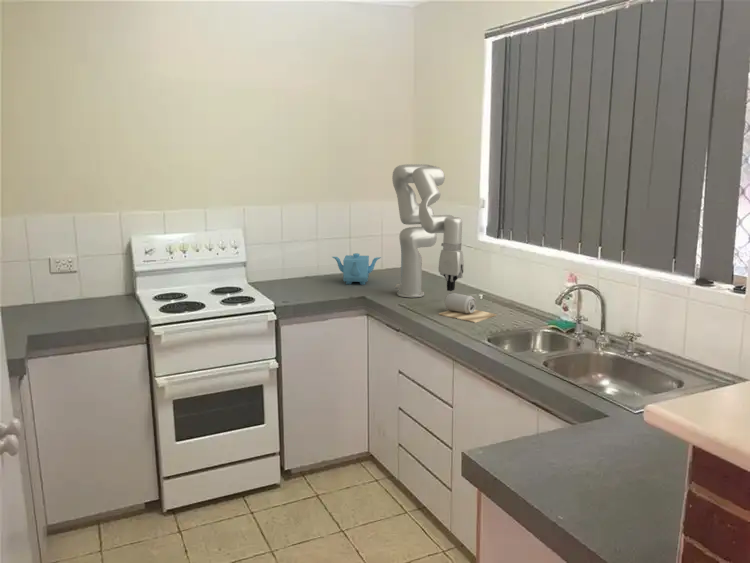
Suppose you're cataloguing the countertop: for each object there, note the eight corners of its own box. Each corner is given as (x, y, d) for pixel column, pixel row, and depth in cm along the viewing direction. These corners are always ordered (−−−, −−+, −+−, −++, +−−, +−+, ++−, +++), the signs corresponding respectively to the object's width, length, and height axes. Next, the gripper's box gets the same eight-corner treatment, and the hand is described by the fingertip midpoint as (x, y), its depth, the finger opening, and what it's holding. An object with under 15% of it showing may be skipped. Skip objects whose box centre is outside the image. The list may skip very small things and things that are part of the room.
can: (445, 313, 284) (470, 318, 276) (441, 299, 280) (466, 303, 272) (454, 302, 288) (478, 307, 281) (450, 288, 284) (475, 293, 277)
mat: (438, 314, 278) (438, 313, 278) (460, 307, 290) (460, 306, 290) (475, 322, 266) (475, 321, 266) (496, 315, 278) (496, 314, 278)
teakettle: (357, 277, 352) (357, 249, 349) (382, 282, 339) (382, 254, 336) (329, 282, 339) (329, 253, 336) (354, 288, 326) (354, 258, 323)
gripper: (432, 246, 280) (431, 289, 284) (461, 250, 271) (460, 294, 274) (442, 244, 286) (441, 286, 290) (472, 248, 276) (470, 291, 280)
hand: (450, 290), depth 282 cm, fingers closed
